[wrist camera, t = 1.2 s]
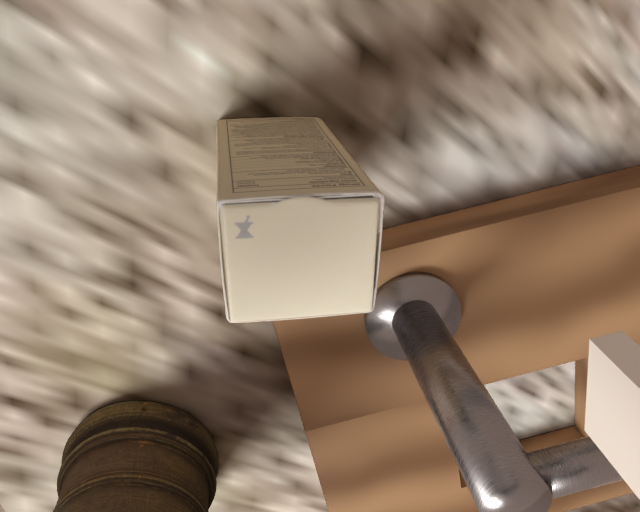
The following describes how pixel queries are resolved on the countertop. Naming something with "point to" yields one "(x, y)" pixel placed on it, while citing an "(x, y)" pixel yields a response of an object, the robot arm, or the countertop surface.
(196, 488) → the container
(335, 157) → the box
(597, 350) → the robot arm
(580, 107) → the countertop surface
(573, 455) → the door lever handle
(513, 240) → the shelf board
